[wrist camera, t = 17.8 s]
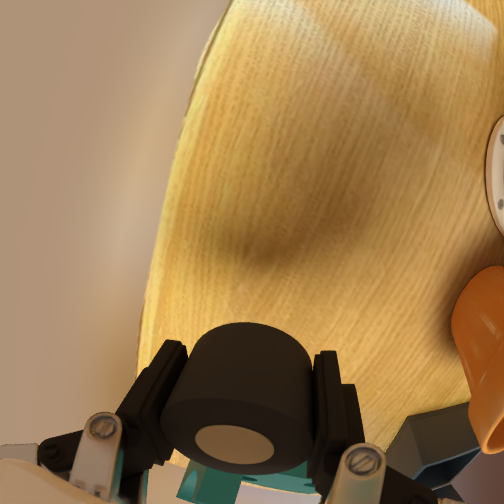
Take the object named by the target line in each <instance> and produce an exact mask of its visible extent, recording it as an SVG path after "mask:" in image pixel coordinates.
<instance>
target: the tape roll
mask: <svg viewBox="0 0 504 504" xmlns="http://www.w3.org/2000/svg"><path fill="white" fill-rule="evenodd" d="M312 372H313V370H312V363H311V360H310V357H309V355H308V353H307V352H306V350H305V349H304V348H303V346H302V345H301V344H300V343H299V342H298V341H297V340H295V339H294V338H293V337H292V336H290V335H288V334H287V333H285V332H283V331H281V330H279V329H277V328H274V327H271V326H268V325H263V324H259V323H250V322H238V323H230V324H225V325H222V326H219V327H216V328H214V329H212V330H210V331H208V332H207V333H205V334H204V335H203V336H202V337H201V338H200V339H199V340H198V341H197V343H196V344H195V346H194V348H193V350H192V352H191V354H190V356H189V358H188V360H187V362H186V364H185V366H184V368H183V370H182V372H181V374H180V376H179V378H178V380H177V382H176V384H175V386H174V388H173V390H172V392H171V394H170V396H169V398H168V401H167V403H166V405H165V407H164V409H163V411H162V413H161V415H160V420H159V422H160V428H161V430H162V433H163V435H164V437H165V438H166V439H167V441H168V442H169V443H170V444H171V445H172V446H173V447H174V448H175V449H176V450H177V451H179V452H180V453H182V454H183V455H184V456H186V457H188V458H189V459H191V460H193V461H195V462H197V463H199V464H202V465H204V466H206V467H209V468H212V469H215V470H219V471H223V472H227V473H233V474H240V475H269V474H276V473H281V472H284V471H288V470H290V469H293V468H295V467H297V466H299V465H301V464H302V463H304V462H305V461H306V460H307V459H308V458H309V457H310V456H311V453H312V450H313V447H314V443H315V429H314V395H313V373H312Z"/></svg>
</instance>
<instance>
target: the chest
mask: <svg viewBox="0 0 504 504" xmlns="http://www.w3.org/2000/svg"><path fill="white" fill-rule="evenodd" d="M469 403H470V402H467V403H464V404H461V405H457V406H453V407H450V408H446V409H442V410H438V411H433V412H429V413H424V414H420V415H415V416H409V417H407V419H406V420H405V422H404V424H403V426H402V427H401V429H400V431H399V432H398V434H397V436H396V437H395V439H394V441H393V442H392V444H391V445H390V447H389V448H388V450H387V451H386V453H385V456H386V465H388V466H389V467H391V468H393V469H394V470H396V471H398V472H400V473H402V474H403V475H405V476H407V477H409V478H411V479H412V480H414V481H416V482H418V483H420V484H422V485H424V486H426V487H428V488H430V489H431V490H432V489H435V488H438V487H441V486H444V485H446V484H448V483H450V482H451V481H453V480H454V479H455V478H456V477H457V476H458V475H459V474H460V473H461V472H462V471H463V470H464V469H465V468H466V467H467V466H468V465H469V464H470V463H471V462H472V461H473V460H474V459H475V458H476V457H477V456H478V455H479V454H480V453H481V452H482V450H481V447H480V445H479V442H478V440H477V437H476V435H475V433H474V430H473V428H472V425H471V422H470V419H469V415H468V408H469Z"/></svg>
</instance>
